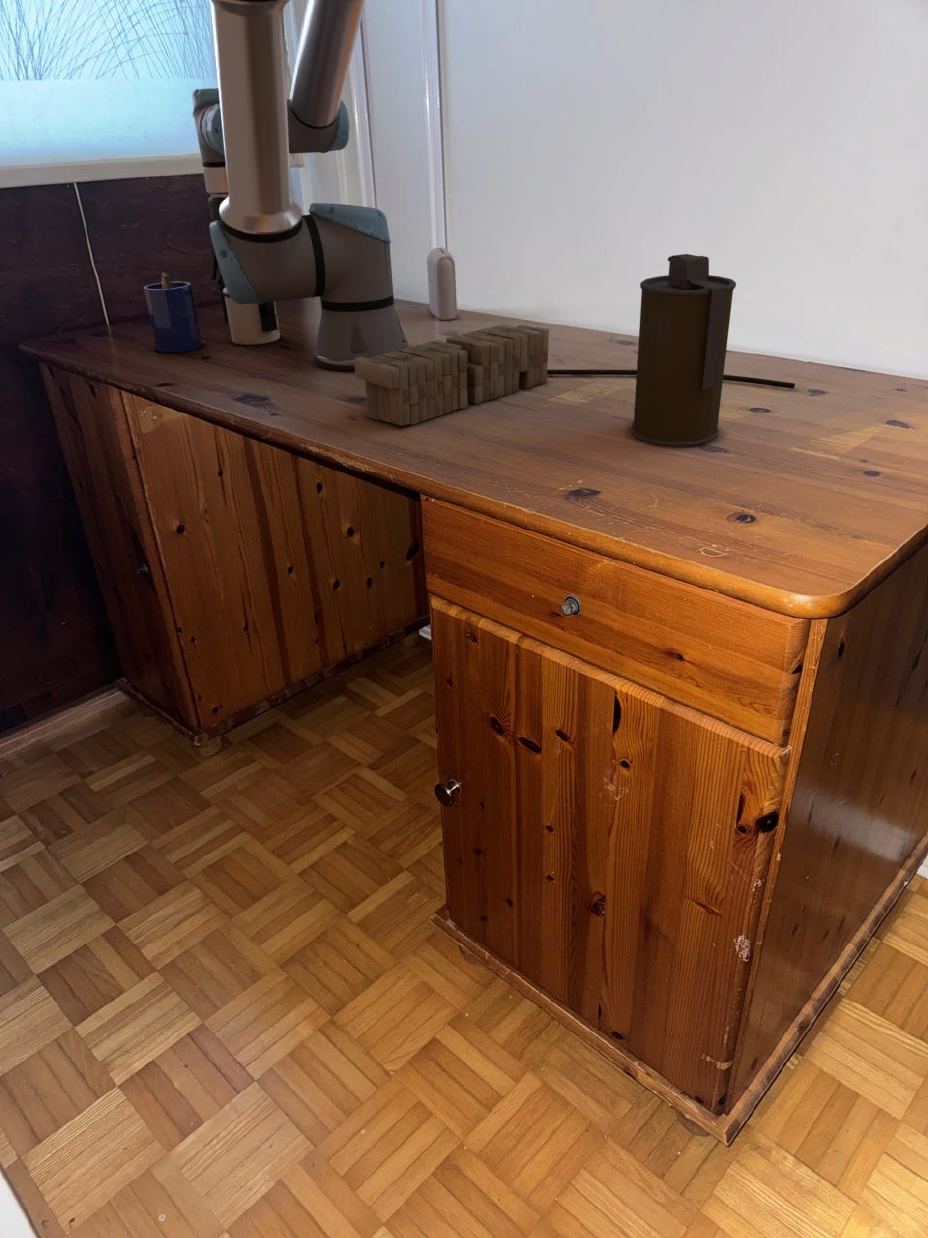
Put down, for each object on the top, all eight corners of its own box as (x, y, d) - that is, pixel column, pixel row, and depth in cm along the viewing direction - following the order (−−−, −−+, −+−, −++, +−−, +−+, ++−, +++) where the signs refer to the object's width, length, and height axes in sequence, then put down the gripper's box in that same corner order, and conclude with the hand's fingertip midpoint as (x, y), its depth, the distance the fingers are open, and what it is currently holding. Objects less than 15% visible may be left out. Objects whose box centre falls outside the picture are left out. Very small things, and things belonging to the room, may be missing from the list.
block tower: (510, 379, 133) (356, 418, 115) (510, 322, 128) (351, 353, 111) (548, 388, 127) (393, 431, 110) (550, 328, 123) (390, 363, 106)
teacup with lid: (290, 339, 158) (281, 271, 152) (244, 348, 153) (232, 278, 147) (260, 329, 166) (251, 264, 160) (216, 337, 162) (204, 271, 156)
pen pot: (209, 346, 156) (198, 284, 150) (169, 354, 151) (156, 291, 146) (188, 340, 161) (176, 280, 155) (149, 348, 156) (135, 286, 151)
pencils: (190, 343, 156) (177, 272, 150) (173, 346, 154) (159, 275, 148) (184, 341, 158) (170, 271, 152) (166, 344, 156) (152, 274, 150)
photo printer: (427, 311, 175) (423, 245, 169) (448, 309, 176) (445, 243, 170) (437, 321, 167) (434, 252, 160) (459, 319, 167) (456, 250, 161)
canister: (614, 428, 108) (623, 255, 98) (684, 414, 112) (699, 247, 102) (666, 454, 100) (681, 268, 90) (739, 438, 103) (762, 258, 93)
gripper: (289, 195, 142) (306, 331, 153) (213, 190, 157) (233, 314, 169) (249, 199, 138) (270, 339, 149) (175, 193, 153) (198, 320, 164)
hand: (250, 326), depth 159 cm, fingers closed on teacup with lid, 12 cm apart
